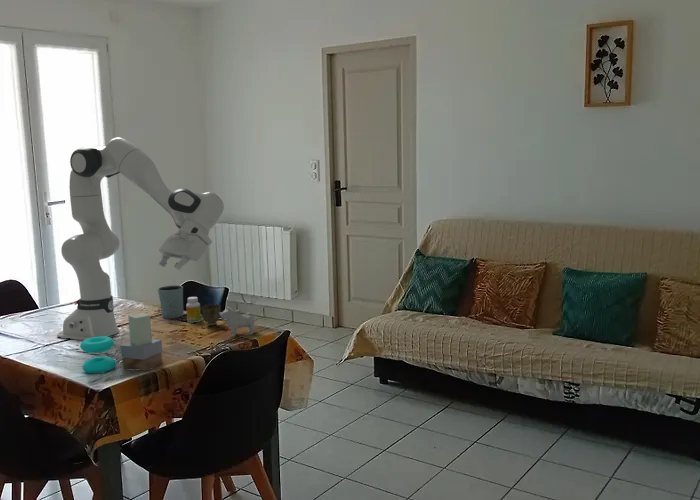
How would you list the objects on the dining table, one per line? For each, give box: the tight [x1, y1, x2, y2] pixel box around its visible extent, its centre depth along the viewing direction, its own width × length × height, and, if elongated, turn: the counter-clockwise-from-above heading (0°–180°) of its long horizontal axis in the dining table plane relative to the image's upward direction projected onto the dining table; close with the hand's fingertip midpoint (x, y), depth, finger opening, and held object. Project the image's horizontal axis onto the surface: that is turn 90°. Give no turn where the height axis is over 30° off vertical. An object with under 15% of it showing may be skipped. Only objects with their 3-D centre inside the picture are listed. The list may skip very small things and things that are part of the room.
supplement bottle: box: [185, 296, 202, 324], centre depth 280 cm, size 5×5×10 cm
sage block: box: [127, 312, 153, 346], centre depth 224 cm, size 5×5×9 cm
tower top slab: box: [120, 338, 163, 360], centre depth 226 cm, size 9×9×4 cm
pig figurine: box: [219, 306, 256, 337], centre depth 259 cm, size 5×13×11 cm, turn 105°
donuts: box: [80, 336, 116, 374], centre depth 223 cm, size 10×10×10 cm
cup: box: [200, 303, 221, 327], centre depth 272 cm, size 8×7×8 cm
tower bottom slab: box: [121, 352, 163, 371], centre depth 226 cm, size 9×9×4 cm
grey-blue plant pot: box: [157, 284, 185, 319], centre depth 290 cm, size 10×10×12 cm
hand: (168, 267), depth 231 cm, fingers open, 8 cm apart
